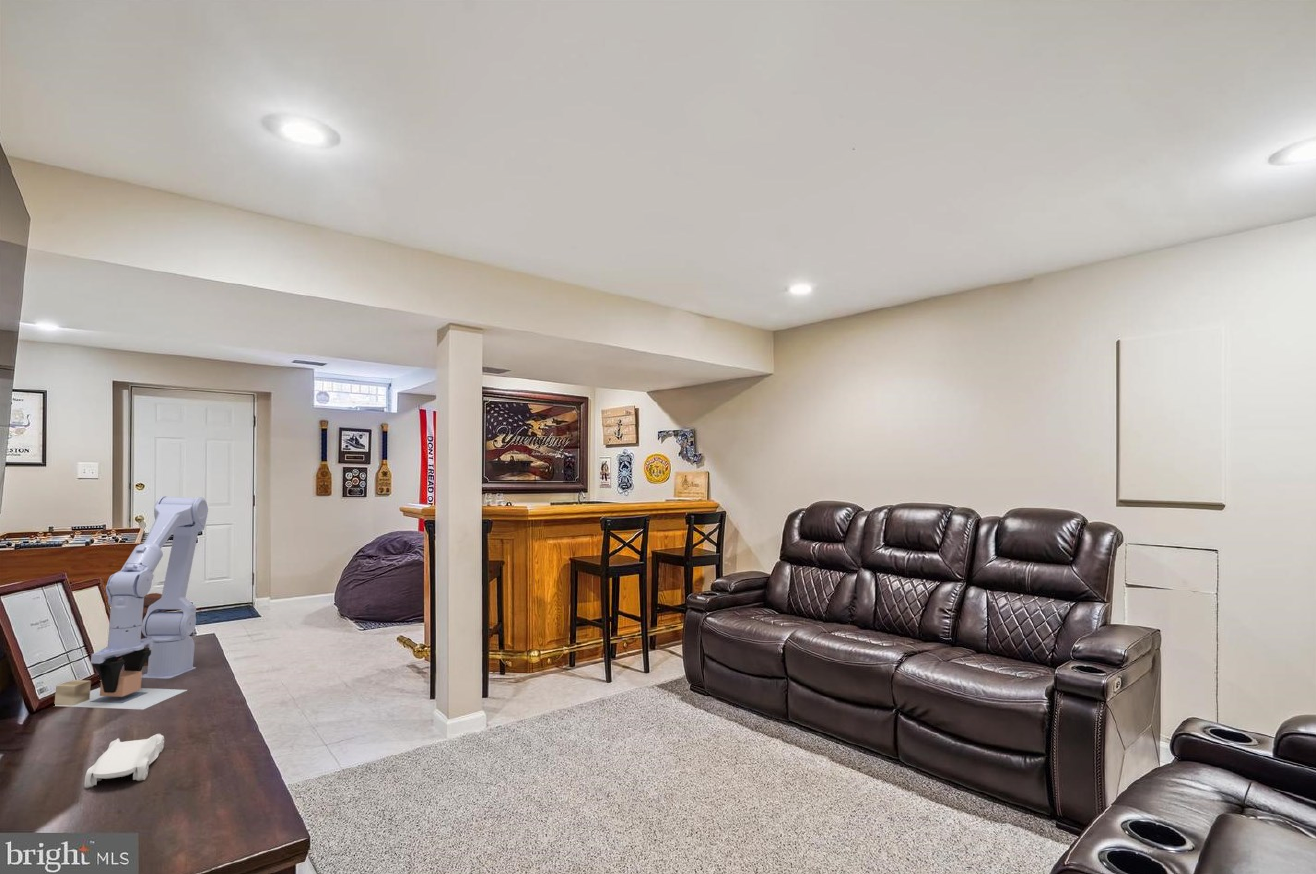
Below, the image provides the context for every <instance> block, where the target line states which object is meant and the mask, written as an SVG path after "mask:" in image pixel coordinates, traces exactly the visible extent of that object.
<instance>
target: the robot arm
mask: <svg viewBox="0 0 1316 874" xmlns="http://www.w3.org/2000/svg"><path fill="white" fill-rule="evenodd" d="M208 512H209V507H208V504H207V501H206V499H205V498H204V497H200V496H199V497H179V496H166V495H163V496H160V497H159V498H158V499H157V500H156V502H155V504H154V508H153V515H154V516H153V517H154V521H153V524H152V526H151V528H150V530H149V532H148V534H147V536H146V538H145V540H144V543H140V544H138V545H136V546H135V547H134V549H133V550H132V552H131V553H130V555H129V556H128V558H127V560H126V561H125V563H124V564H123V565H122V568H121V569H120V570H119V571H117V572H115V573H113V574H111V575H110V576H109V578H108V580H107V583H106V585H105V592H106V595H107V600H108V601H107V604H108V606H110V610H109V611H110V612H109V613H110V614H109V624H108V625H109V627H108V637H107V645H106V647H105V648H103V649H101V650H100V649H99V651H97V652H94V653H91V654H90V655H91V657H90V664H92V666H93V667H94V668H95V670H96V672H97V673H98V675H99V677H100V682H101V681H102V685H103V689H104V692H105V693H114V692H116V689H117V686H118V679H119V675H120V672H121V671H122V670H123V671H143V667H144V666H143V665H144V664H145V662H146V660H147V659H148V657H149V660H148V666H147V671H146V673H142V678H143V679H162V680H163V679H164V680H165V679H167V680H168V679H172V678H175V677H177V676H179V675H182V674H185V673H188V672H190V671H192V670H195V669H196V668H197V667H195V666H194V658H195V657H194V656H195V654H194V653H195V641H194V639H193V637H192V636H190V635H192V634H193V632H194V631H195V628H196V625H197V616H196V615H197V614H196V612H197V607H196V605H195V604H194V603H192V602H191V601H190V600H189V599H187V597H186V596H187V591H188V587H189V580H190V577H191V576H190V575H191V571H192V565H193V562H194V561H193V560H194V556H195V550H196V547H197V546H196V545H197V540H198V534H199V533H200V532H202V531H204V530H205V527H206V523H207V519H208V514H209V513H208ZM172 535H173V539H172V543H171V549H170V554H169V558H168V563H167V568H166V572H165V577H164V583H163V588H162V593H161V594H162V597H161V599H159V600H158V601H156V602H155V603H153V604H151V605H150V606H149V607H148V610H147V613H146V616H145V618H144V619H143V622H142V617H143V605H144V596H146V595H147V594H149V592H150V591H151V588H152V583H153V580H154V572H155V570H156V568H157V567H158V566H159V563H160V562H161V560H162V558H163V557H164V553H163V552H164V551H162V548H163V547H164V545H165V544H166V542H168V540H169V539H170V537H171V536H172ZM164 610H166V612H162V611H164ZM170 610H171V611H170ZM172 610H173V611H172ZM141 629H142V633H143V635H144V636H145V637H147V638H143V639H141ZM145 648H149V650H145ZM118 657H121V658H122V660H121V659H120V660H118ZM122 668H124V669H122Z"/></svg>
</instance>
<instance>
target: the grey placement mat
mask: <svg viewBox="0 0 1316 874" xmlns="http://www.w3.org/2000/svg"><path fill="white" fill-rule="evenodd" d="M187 691H188V689H178V688H177V689H173V688H171V689H170V688H148V687H145V688H143V687H141V689H140V690H138V691H135V692H133V693H130V694H128V695H125V696H123V697H117V696H100V687H98V688H95V689H92V690H91V689H90V699H89V700H87V701H84V702H81V703H79V704H76V705H74V706H69V705H55V706H54V707H67V708H68V707H69V708H71V707H72V708H90V709H91V708H92V709H93V708H95V709H97V708H99V709H120V710H145V709H148V708H151V707H153V706H155V705H157V704H160V703H161V702H164V701H166V700H169V699H170V698H174V697H177V695H180V694H182V693H184V692H187Z"/></svg>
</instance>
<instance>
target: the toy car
mask: <svg viewBox="0 0 1316 874" xmlns="http://www.w3.org/2000/svg"><path fill="white" fill-rule="evenodd" d="M164 747H165V736H164V735H162V734H161V733H156V734H154V735H152V736H150V737H149V738H144V739H136V740H135V739H134V740H126V741H121V739H120V738H119V737H118V738H117V739H115V740H112V741H110V743H109V745H108V748H107V750H106V751H105V752H103V753H102V754H101V755H100V756H99V757H98V759H96V761H95V763H94V764H93V765H92V766H90V767H89V768H88V769H87V771H86V773H85V776H84V788H85V789H88V788H93V787H95V786H97V782H100V781H102V779H105V780H107V779H108V780H109V779H115V778H120V777H121V778H123V777H126V776H129V775H131V774H132V780H133V781H135V780H136V781H137V782H140V781H145V780H146V779H147V777H148V773H149V770H150V767H149V766H150V765H151V764H152V763H153V762H154V761H156V759H158V757H159V755H160V753H162V752H163V750H164Z"/></svg>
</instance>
